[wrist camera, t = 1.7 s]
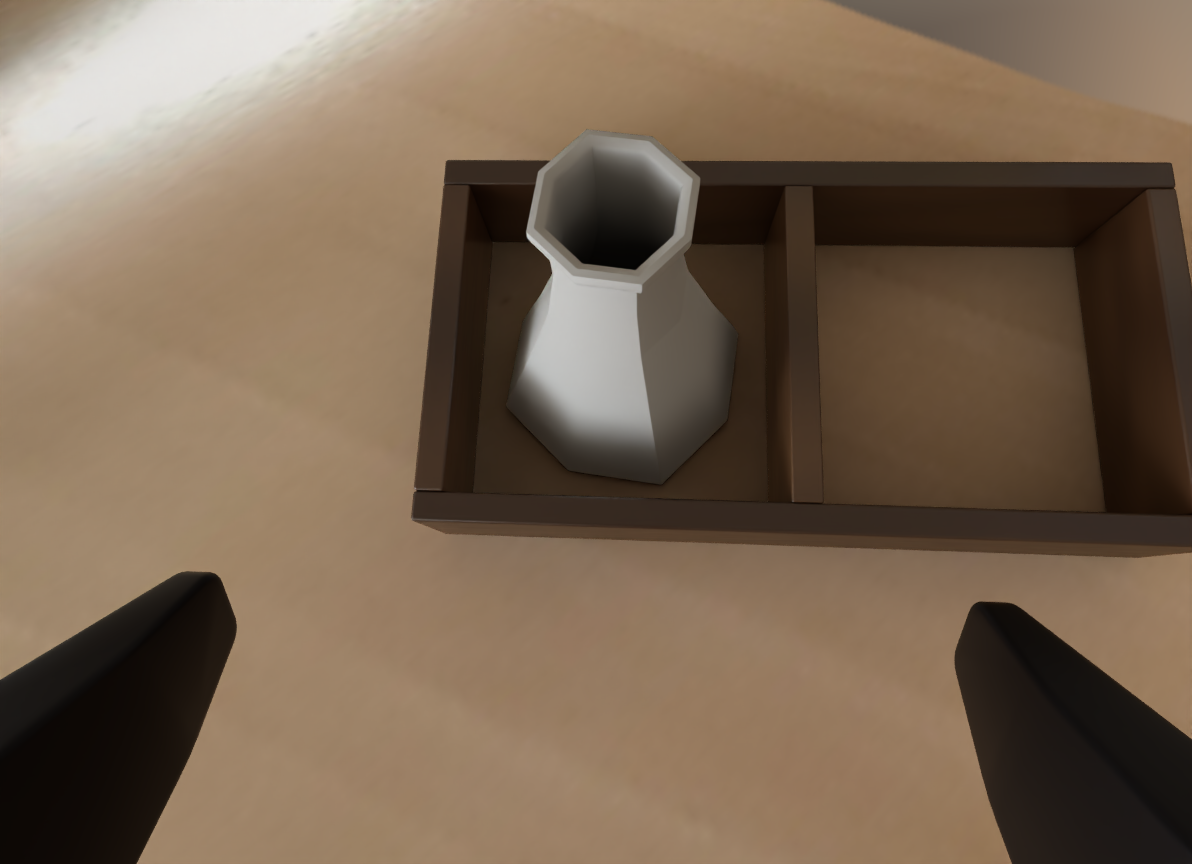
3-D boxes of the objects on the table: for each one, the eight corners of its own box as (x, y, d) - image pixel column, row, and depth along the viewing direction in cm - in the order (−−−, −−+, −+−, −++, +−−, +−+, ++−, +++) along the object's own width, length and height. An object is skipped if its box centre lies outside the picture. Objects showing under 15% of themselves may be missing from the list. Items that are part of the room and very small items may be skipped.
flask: (775, 324, 23) (875, 122, 14) (674, 526, 22) (705, 462, 12) (576, 234, 24) (536, -12, 15) (468, 420, 23) (347, 285, 13)
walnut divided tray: (1139, 557, 21) (1236, 548, 18) (444, 533, 22) (409, 520, 19) (1095, 225, 23) (1172, 161, 20) (471, 220, 25) (445, 159, 21)
